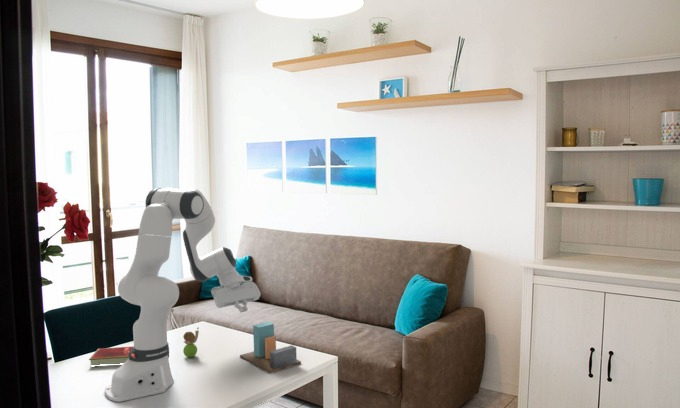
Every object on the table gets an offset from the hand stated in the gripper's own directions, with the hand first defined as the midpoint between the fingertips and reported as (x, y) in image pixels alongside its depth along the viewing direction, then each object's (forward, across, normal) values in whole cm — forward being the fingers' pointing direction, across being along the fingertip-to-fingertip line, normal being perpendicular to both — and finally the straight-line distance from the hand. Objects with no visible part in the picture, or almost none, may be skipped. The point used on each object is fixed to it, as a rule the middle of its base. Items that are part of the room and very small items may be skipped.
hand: (244, 311), depth 221 cm
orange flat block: (+24, +2, -4) cm, 25 cm away
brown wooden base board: (+25, 0, -2) cm, 25 cm away
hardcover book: (-4, -43, +27) cm, 51 cm away
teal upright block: (+21, 0, -1) cm, 21 cm away
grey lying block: (+31, 0, -9) cm, 33 cm away
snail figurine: (+7, -21, +16) cm, 27 cm away
